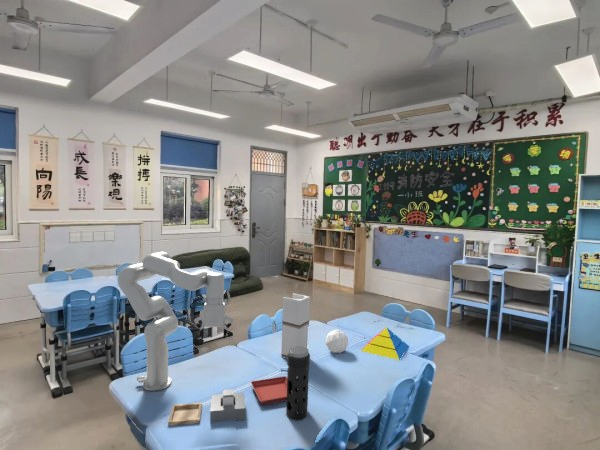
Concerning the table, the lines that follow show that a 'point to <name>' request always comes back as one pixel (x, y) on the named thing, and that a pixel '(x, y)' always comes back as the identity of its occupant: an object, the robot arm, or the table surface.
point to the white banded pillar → (295, 322)
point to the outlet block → (227, 408)
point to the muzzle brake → (297, 382)
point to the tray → (185, 414)
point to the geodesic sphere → (336, 341)
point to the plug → (228, 397)
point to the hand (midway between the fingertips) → (213, 337)
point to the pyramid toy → (386, 345)
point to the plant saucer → (271, 389)
